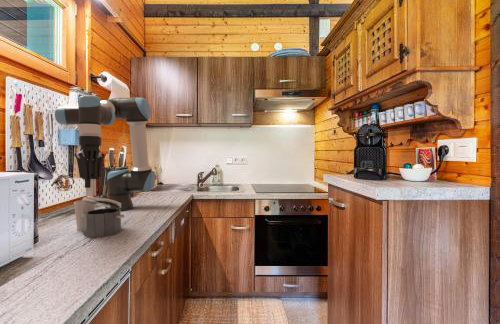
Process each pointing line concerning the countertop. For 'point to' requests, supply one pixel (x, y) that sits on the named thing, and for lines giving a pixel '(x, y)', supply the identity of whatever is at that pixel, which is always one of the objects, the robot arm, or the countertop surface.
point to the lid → (102, 201)
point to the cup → (81, 212)
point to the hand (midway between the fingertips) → (91, 195)
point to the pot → (102, 222)
